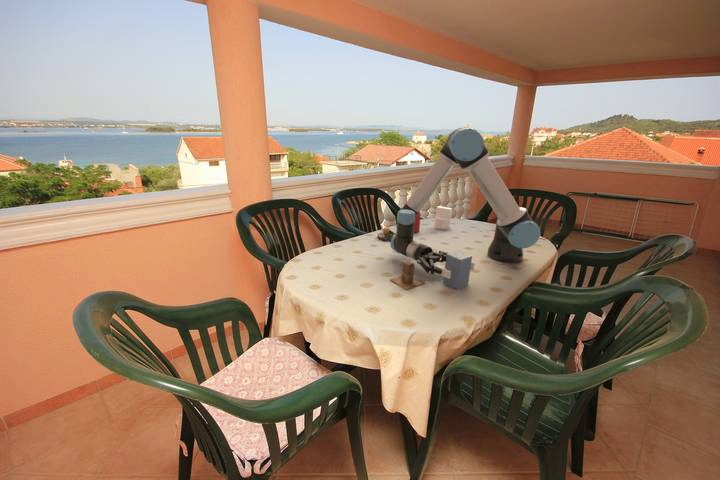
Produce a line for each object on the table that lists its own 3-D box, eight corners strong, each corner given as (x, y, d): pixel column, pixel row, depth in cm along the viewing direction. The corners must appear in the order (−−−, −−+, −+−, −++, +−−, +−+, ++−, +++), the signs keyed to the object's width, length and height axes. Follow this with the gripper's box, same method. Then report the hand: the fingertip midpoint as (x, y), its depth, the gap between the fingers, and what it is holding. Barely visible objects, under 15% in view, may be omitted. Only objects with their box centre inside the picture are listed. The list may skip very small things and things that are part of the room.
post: (407, 275, 126) (408, 256, 124) (424, 283, 119) (426, 264, 117) (390, 280, 121) (391, 261, 119) (406, 289, 114) (408, 269, 112)
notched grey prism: (454, 278, 124) (457, 250, 120) (467, 285, 119) (472, 256, 115) (443, 283, 120) (446, 254, 116) (456, 289, 115) (461, 259, 111)
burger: (397, 243, 162) (397, 229, 160) (374, 240, 166) (375, 226, 163) (401, 236, 173) (402, 223, 171) (380, 233, 177) (381, 220, 174)
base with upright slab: (431, 227, 190) (433, 207, 186) (438, 224, 196) (440, 205, 192) (445, 230, 184) (448, 210, 180) (452, 227, 191) (454, 207, 187)
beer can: (419, 233, 178) (420, 212, 174) (407, 232, 179) (408, 211, 175) (419, 230, 184) (421, 209, 180) (407, 229, 185) (409, 209, 181)
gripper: (439, 255, 140) (481, 272, 124) (396, 267, 126) (437, 288, 110) (441, 238, 137) (484, 254, 121) (398, 250, 124) (440, 269, 107)
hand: (462, 270), depth 115 cm, fingers open, 13 cm apart
